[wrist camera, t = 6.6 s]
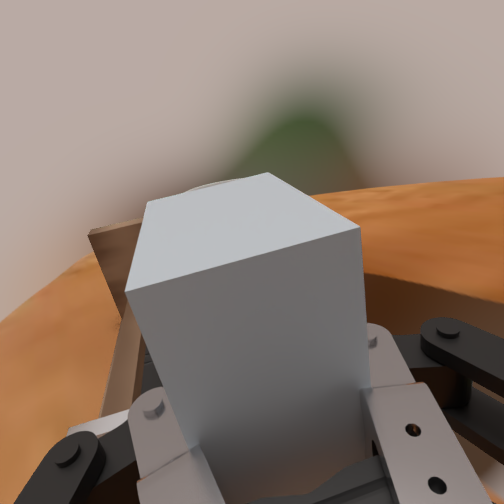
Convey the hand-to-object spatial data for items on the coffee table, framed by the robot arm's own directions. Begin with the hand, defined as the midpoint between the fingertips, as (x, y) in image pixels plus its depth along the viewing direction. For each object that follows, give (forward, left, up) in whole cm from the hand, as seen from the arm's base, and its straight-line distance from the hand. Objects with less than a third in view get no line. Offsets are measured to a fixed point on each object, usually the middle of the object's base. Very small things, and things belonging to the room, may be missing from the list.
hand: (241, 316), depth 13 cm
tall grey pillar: (0, +3, -7) cm, 8 cm away
